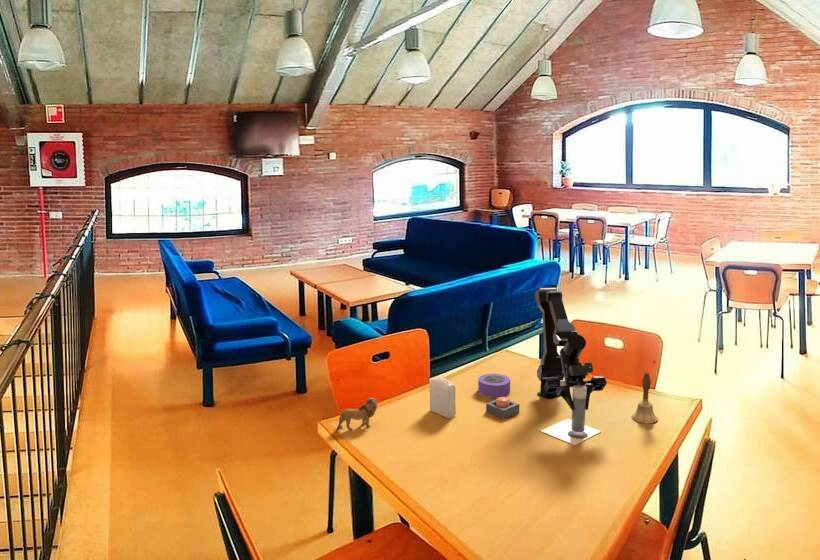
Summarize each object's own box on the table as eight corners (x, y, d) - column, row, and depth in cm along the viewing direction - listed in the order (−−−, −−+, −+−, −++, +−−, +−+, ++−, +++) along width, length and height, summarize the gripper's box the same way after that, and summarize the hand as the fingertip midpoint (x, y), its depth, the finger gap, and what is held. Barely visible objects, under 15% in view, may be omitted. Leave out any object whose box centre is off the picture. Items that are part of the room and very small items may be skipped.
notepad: (567, 419, 222) (567, 418, 222) (601, 432, 213) (601, 431, 212) (540, 431, 214) (540, 430, 213) (574, 445, 204) (574, 444, 204)
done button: (502, 405, 232) (502, 395, 231) (512, 409, 228) (512, 399, 228) (493, 409, 229) (493, 399, 228) (503, 413, 226) (503, 403, 225)
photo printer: (427, 410, 231) (427, 376, 229) (437, 407, 234) (437, 373, 231) (448, 419, 223) (448, 384, 221) (457, 416, 226) (457, 381, 223)
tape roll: (512, 397, 241) (512, 384, 240) (479, 398, 242) (479, 385, 241) (507, 385, 253) (508, 373, 252) (476, 386, 253) (477, 373, 252)
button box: (501, 405, 234) (502, 397, 234) (519, 412, 228) (519, 404, 228) (486, 411, 229) (486, 403, 229) (503, 418, 223) (503, 410, 223)
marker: (572, 425, 213) (574, 384, 210) (586, 427, 211) (587, 386, 208) (569, 430, 209) (571, 388, 206) (583, 433, 207) (585, 390, 204)
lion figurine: (373, 419, 225) (373, 394, 223) (380, 425, 220) (380, 399, 218) (333, 428, 218) (331, 403, 216) (339, 435, 213) (338, 408, 211)
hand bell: (627, 419, 222) (629, 373, 219) (638, 411, 228) (640, 367, 224) (651, 426, 216) (654, 379, 213) (662, 418, 222) (665, 372, 219)
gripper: (547, 354, 208) (556, 401, 200) (606, 352, 209) (617, 398, 201) (540, 369, 218) (548, 414, 209) (596, 367, 219) (606, 412, 210)
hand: (580, 409), depth 207 cm, fingers closed on marker, 4 cm apart
